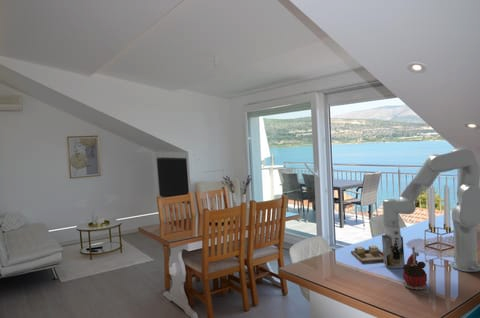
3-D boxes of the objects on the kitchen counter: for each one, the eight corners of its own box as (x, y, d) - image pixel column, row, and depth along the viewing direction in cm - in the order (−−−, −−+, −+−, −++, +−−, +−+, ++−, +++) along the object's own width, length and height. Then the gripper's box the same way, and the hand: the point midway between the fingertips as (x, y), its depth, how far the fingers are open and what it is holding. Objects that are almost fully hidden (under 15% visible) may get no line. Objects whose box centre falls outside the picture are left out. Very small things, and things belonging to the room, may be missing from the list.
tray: (391, 262, 196) (391, 258, 196) (362, 265, 195) (362, 260, 195) (378, 252, 214) (378, 248, 214) (351, 255, 213) (351, 250, 213)
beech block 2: (378, 254, 208) (378, 247, 208) (371, 254, 208) (371, 248, 208) (375, 252, 212) (375, 245, 212) (369, 252, 212) (368, 246, 212)
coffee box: (400, 263, 193) (399, 233, 193) (405, 268, 187) (403, 237, 186) (383, 264, 194) (381, 234, 194) (386, 268, 188) (385, 237, 187)
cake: (412, 292, 158) (410, 251, 158) (398, 284, 167) (396, 246, 167) (433, 288, 161) (431, 248, 160) (418, 281, 170) (416, 243, 169)
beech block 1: (365, 255, 208) (364, 248, 208) (359, 256, 207) (358, 249, 207) (361, 253, 212) (360, 246, 212) (355, 254, 211) (354, 247, 211)
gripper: (406, 226, 181) (408, 261, 182) (391, 219, 198) (393, 251, 199) (391, 227, 181) (393, 262, 182) (377, 220, 198) (379, 252, 199)
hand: (393, 256), depth 190 cm, fingers closed on coffee box, 6 cm apart
